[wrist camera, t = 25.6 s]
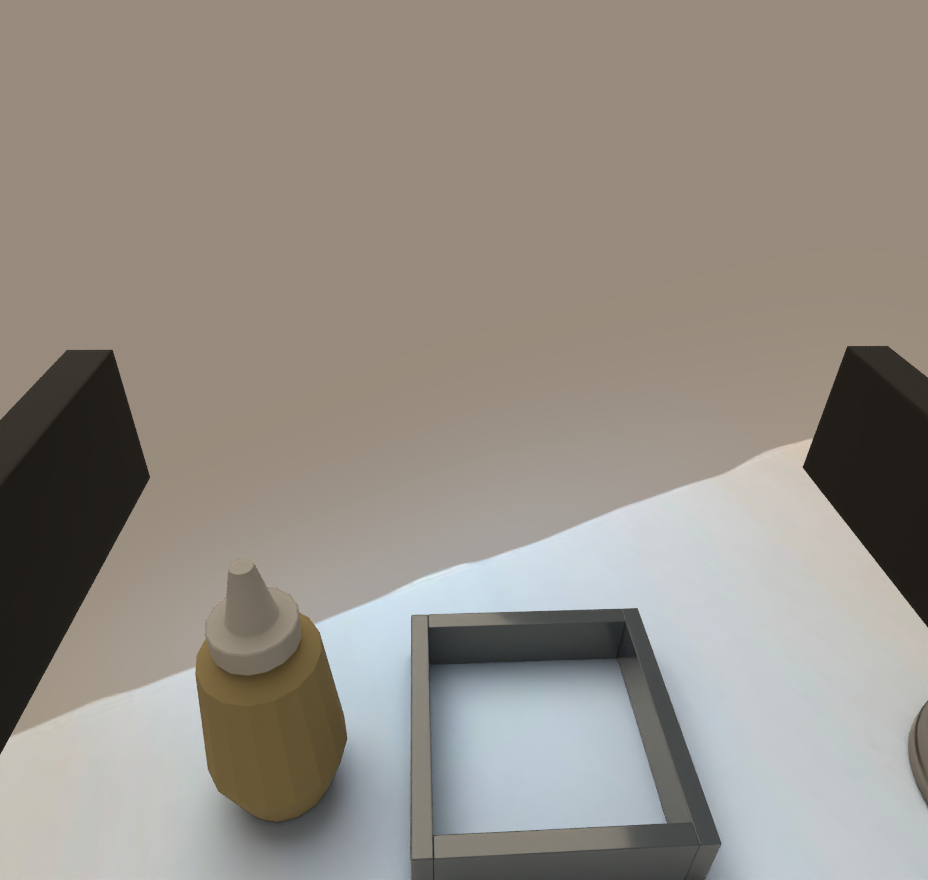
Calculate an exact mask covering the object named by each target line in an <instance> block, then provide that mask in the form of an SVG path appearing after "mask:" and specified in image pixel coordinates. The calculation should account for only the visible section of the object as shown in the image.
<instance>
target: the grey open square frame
mask: <svg viewBox="0 0 928 880" xmlns="http://www.w3.org/2000/svg"><path fill="white" fill-rule="evenodd" d="M596 658H618V661H619V665H620V668H621V671H622V675H623V678H624V681H625V685H626V688H627V691H628V694H629V698H630V701H631V704H632V708H633V711H634V714H635V718H636V721H637V724H638V728H639V731H640V734H641V738H642V741H643V744H644V748H645V751H646V754H647V758H648V761H649V764H650V768H651V771H652V774H653V778H654V781H655V784H656V787H657V791H658V794H659V797H660V801H661V804H662V807H663V811H664V814H665V817H666V821H667V824H649V825H629V826H609V827H589V828H570V829H550V830H530V831H510V832H491V833H471V834H451V835H434V836H433V802H432V758H431V715H430V671H429V664H451V663H480V662H509V661H538V660H567V659H596ZM720 846H721V841H720V838H719V835H718V832H717V830H716V827H715V824H714V821H713V818H712V816H711V813H710V810H709V807H708V804H707V802H706V799H705V796H704V793H703V790H702V788H701V785H700V782H699V779H698V776H697V774H696V771H695V768H694V765H693V762H692V760H691V757H690V754H689V751H688V748H687V746H686V743H685V740H684V737H683V734H682V732H681V729H680V726H679V723H678V720H677V718H676V715H675V712H674V709H673V706H672V704H671V701H670V698H669V695H668V692H667V690H666V687H665V684H664V681H663V678H662V676H661V673H660V670H659V667H658V664H657V662H656V659H655V656H654V653H653V650H652V647H651V645H650V642H649V639H648V636H647V633H646V631H645V628H644V625H643V622H642V619H641V617H640V614H639V611H638V608H630V609H596V610H563V611H529V612H496V613H462V614H429V615H412V616H411V841H410V861H411V880H703V879H705V878H706V876H707V874H708V872H709V870H710V867H711V865H712V863H713V861H714V859H715V857H716V855H717V852H718V850H719V848H720Z"/></svg>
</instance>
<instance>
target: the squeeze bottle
mask: <svg viewBox="0 0 928 880" xmlns="http://www.w3.org/2000/svg"><path fill="white" fill-rule="evenodd" d="M205 637H206V639H205V641H204V643H203V645H202V646H201V648H200V650H199V652H198V654H197V661H196V682H197V690H198V697H199V705H200V712H201V720H202V728H203V735H204V743H205V750H206V758H207V765H208V771H209V773H210V775H211V777H212V779H213V781H214V783H215V785H216V787H217V789H218V791H219V792H220V793H222V794H223V795H224V796H226V797H227V798H229V799H230V800H232V801H233V802H235V803H236V804H237V805H239V806H240V807H242V808H243V809H245V810H246V811H248V812H249V813H251V814H252V815H254V816H255V817H257V818H258V819H261V820H268V821H275V822H280V821H284V820H288V819H292V818H296V817H299V816H300V815H302V814H303V813H305V812H306V811H308V810H309V809H311V808H312V807H314V806H316V804H317V803H318V802H319V800H320V799H321V798H322V796H323V795H324V794H325V792H326V791H327V790H328V788H329V786H330V784H331V781H332V779H333V777H334V775H335V773H336V771H337V768H338V766H339V764H340V761H341V758H342V754H343V751H344V748H345V744H346V741H347V733H346V726H345V719H344V714H343V710H342V707H341V704H340V700H339V697H338V693H337V690H336V687H335V683H334V680H333V676H332V673H331V670H330V666H329V663H328V659H327V656H326V653H325V649H324V646H323V642H322V639H321V636H320V632H319V631H318V629H317V628H316V627H315V625H314V624H313V623H312V621H311V620H310V619H309V618H308V617H306V616H305V615H303V614H300V613H299V610H298V605H297V603H296V602H295V601H294V599H293V598H292V597H291V595H290V594H288V593H286V592H284V591H282V590H280V589H278V588H274V587H267V586H266V585H265V583H264V581H263V579H262V577H261V575H260V574H259V572H258V570H257V568H256V566H255V565H254V563H253V561H252V560H251V559H249V558H238V559H236V560H234V561H232V562H231V563H230V565H229V569H228V582H227V596H226V598H224V599H223V600H222V601H221V602H220V603H218V604H217V605H216V606H215V607H214V608H213V609H212V611H211V613H210V615H209V616H208V618H207V620H206V625H205Z"/></svg>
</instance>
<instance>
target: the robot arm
mask: <svg viewBox="0 0 928 880" xmlns="http://www.w3.org/2000/svg"><path fill="white" fill-rule="evenodd" d="M803 469H804V470H805V471H806V472H807V474H808V475H809V476H810V478H811V479H812V480H813V481H814V483H815V484H816V485H817V486H818V488H819V489H820V490H821V492H822V493H823V494H824V495H825V497H826V498H827V499H828V501H829V502H830V503H831V504H832V506H833V507H834V508H835V509H836V511H837V512H838V513H839V515H840V516H841V517H842V518H843V520H844V521H845V522H846V523H847V525H848V526H849V527H850V529H851V530H852V531H853V532H854V534H855V535H856V536H857V538H858V539H859V540H860V541H861V543H862V544H863V545H864V546H865V548H866V549H867V550H868V552H869V553H870V554H871V555H872V557H873V558H874V559H875V561H876V562H877V563H878V564H879V566H880V567H881V568H882V569H883V571H884V572H885V573H886V575H887V576H888V577H889V578H890V580H891V581H892V582H893V584H894V585H895V586H896V587H897V589H898V590H899V591H900V592H901V594H902V595H903V596H904V598H905V599H906V600H907V601H908V603H909V604H910V605H911V607H912V608H913V609H914V610H915V612H916V613H917V614H918V615H919V617H920V618H921V619H922V621H923V622H924V623H925V624H926V626H927V627H928V377H926V376H925V375H924V374H922V373H921V372H920V371H919V370H917V369H916V368H915V367H914V366H912V365H911V364H910V363H908V362H907V361H906V360H905V359H903V358H902V357H901V356H899V355H898V354H897V353H896V352H894V351H893V350H892V349H891V348H889V347H888V346H848V347H847V349H846V351H845V354H844V357H843V360H842V362H841V365H840V368H839V371H838V373H837V376H836V379H835V381H834V384H833V387H832V389H831V392H830V395H829V398H828V400H827V403H826V406H825V408H824V411H823V414H822V417H821V419H820V422H819V425H818V428H817V430H816V433H815V436H814V438H813V441H812V444H811V446H810V449H809V452H808V455H807V457H806V460H805V463H804V465H803ZM149 478H150V476H149V472H148V469H147V465H146V462H145V459H144V455H143V452H142V448H141V445H140V441H139V438H138V435H137V432H136V428H135V424H134V421H133V418H132V415H131V411H130V408H129V404H128V401H127V397H126V394H125V391H124V387H123V384H122V381H121V377H120V373H119V370H118V367H117V363H116V360H115V357H114V353H113V350H67V351H66V352H65V353H64V354H63V355H62V356H61V357H60V358H59V359H58V360H57V361H56V362H55V363H54V365H52V366H51V367H50V368H49V369H48V370H47V372H46V373H45V374H44V375H43V376H42V377H41V378H40V379H39V380H38V381H37V382H36V383H35V384H34V385H33V386H32V388H30V389H29V391H28V392H27V393H26V394H25V395H24V396H23V397H22V398H21V399H20V400H19V401H18V402H17V403H16V404H15V405H14V406H13V407H12V408H11V409H10V411H9V412H8V413H7V414H6V415H5V416H4V417H3V418H2V419H1V420H0V754H1V752H2V750H3V748H4V747H5V745H6V743H7V741H8V739H9V737H10V736H11V734H12V732H13V730H14V728H15V726H16V724H17V723H18V721H19V719H20V717H21V715H22V713H23V711H24V709H25V708H26V706H27V704H28V702H29V700H30V698H31V697H32V695H33V693H34V691H35V689H36V687H37V686H38V684H39V682H40V680H41V678H42V676H43V674H44V673H45V671H46V669H47V667H48V665H49V663H50V662H51V660H52V658H53V656H54V654H55V652H56V650H57V649H58V647H59V645H60V643H61V641H62V639H63V637H64V635H65V634H66V632H67V630H68V628H69V626H70V625H71V623H72V621H73V619H74V617H75V615H76V613H77V612H78V610H79V608H80V606H81V604H82V602H83V600H84V599H85V597H86V595H87V593H88V591H89V589H90V588H91V585H92V584H93V582H94V580H95V578H96V576H97V575H98V573H99V571H100V569H101V567H102V565H103V563H104V562H105V560H106V558H107V556H108V554H109V552H110V551H111V549H112V547H113V545H114V543H115V541H116V539H117V538H118V536H119V534H120V532H121V530H122V528H123V526H124V525H125V523H126V521H127V519H128V517H129V515H130V514H131V512H132V510H133V508H134V506H135V504H136V503H137V500H138V499H139V497H140V495H141V493H142V491H143V489H144V488H145V486H146V484H147V482H148V480H149ZM908 747H909V757H910V763H911V767H912V770H913V774H914V776H915V779H916V782H917V784H918V786H919V788H920V790H921V792H922V795H923V796H924V798H925V800H926V802H927V803H928V701H927V702H926V703H925V705H924V706H923V708H922V709H921V711H920V712H919V714H918V715H917V717H916V718H915V720H914V722H913V724H912V726H911V730H910V734H909V742H908Z"/></svg>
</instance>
